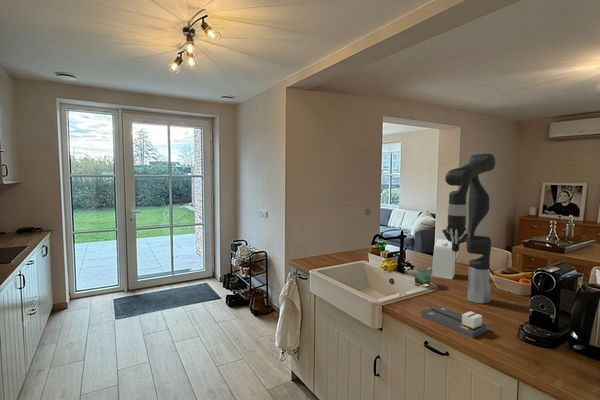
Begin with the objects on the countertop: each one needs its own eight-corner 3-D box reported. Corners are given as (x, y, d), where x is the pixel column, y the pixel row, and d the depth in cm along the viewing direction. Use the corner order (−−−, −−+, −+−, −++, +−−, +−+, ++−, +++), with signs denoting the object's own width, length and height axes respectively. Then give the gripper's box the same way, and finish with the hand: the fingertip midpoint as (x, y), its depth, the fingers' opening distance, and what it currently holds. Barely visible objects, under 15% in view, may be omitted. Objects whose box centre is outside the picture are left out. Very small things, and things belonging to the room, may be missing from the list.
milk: (454, 274, 207) (456, 234, 205) (452, 279, 197) (453, 237, 195) (434, 271, 213) (436, 232, 211) (431, 275, 203) (432, 235, 201)
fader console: (421, 315, 146) (421, 311, 146) (437, 309, 153) (437, 305, 152) (472, 338, 126) (472, 333, 126) (489, 330, 132) (489, 325, 132)
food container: (421, 289, 180) (422, 271, 179) (413, 285, 185) (413, 268, 184) (436, 285, 186) (437, 268, 185) (427, 282, 191) (428, 266, 190)
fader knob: (461, 323, 133) (462, 314, 133) (470, 320, 136) (470, 310, 136) (473, 328, 129) (474, 318, 128) (481, 324, 132) (482, 315, 131)
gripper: (438, 213, 149) (437, 249, 151) (466, 216, 138) (464, 255, 140) (448, 212, 153) (447, 247, 155) (475, 215, 142) (474, 253, 144)
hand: (455, 251), depth 147 cm, fingers closed
